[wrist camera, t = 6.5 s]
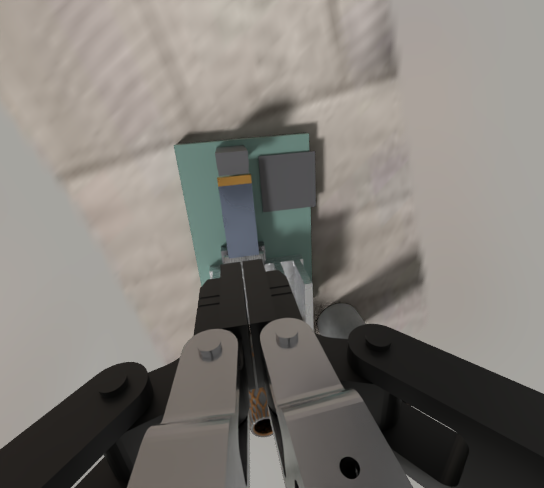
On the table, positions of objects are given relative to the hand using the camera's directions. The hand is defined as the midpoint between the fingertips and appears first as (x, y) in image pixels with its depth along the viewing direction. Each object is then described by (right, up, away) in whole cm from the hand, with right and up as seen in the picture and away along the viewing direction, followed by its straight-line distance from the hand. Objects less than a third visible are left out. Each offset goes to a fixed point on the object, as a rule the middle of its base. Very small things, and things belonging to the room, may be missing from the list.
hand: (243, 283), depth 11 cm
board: (-1, +2, +15) cm, 15 cm away
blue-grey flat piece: (-1, +3, +12) cm, 13 cm away
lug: (-2, +8, +11) cm, 14 cm away
